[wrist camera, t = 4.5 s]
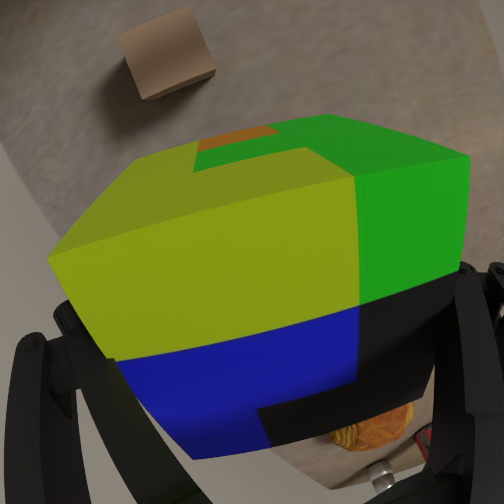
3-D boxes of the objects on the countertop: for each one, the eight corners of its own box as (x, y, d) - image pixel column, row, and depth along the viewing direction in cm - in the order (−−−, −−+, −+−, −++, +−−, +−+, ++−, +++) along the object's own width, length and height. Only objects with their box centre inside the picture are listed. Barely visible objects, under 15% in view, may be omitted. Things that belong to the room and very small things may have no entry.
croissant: (388, 412, 52) (407, 441, 45) (319, 438, 48) (337, 473, 41) (415, 366, 45) (440, 398, 38) (338, 395, 41) (362, 437, 35)
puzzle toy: (192, 312, 19) (193, 460, 11) (135, 159, 14) (45, 257, 6) (345, 274, 19) (422, 396, 11) (328, 114, 15) (469, 156, 6)
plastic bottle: (384, 463, 64) (407, 520, 46) (362, 471, 63) (383, 530, 46) (390, 454, 61) (416, 515, 43) (367, 463, 60) (391, 526, 43)
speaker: (408, 441, 59) (434, 497, 43) (418, 426, 55) (448, 486, 39) (432, 431, 60) (460, 483, 44) (443, 415, 56) (474, 470, 40)
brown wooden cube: (133, 47, 19) (116, 36, 15) (192, 22, 19) (189, 5, 15) (155, 99, 22) (142, 99, 17) (214, 75, 21) (215, 68, 17)
